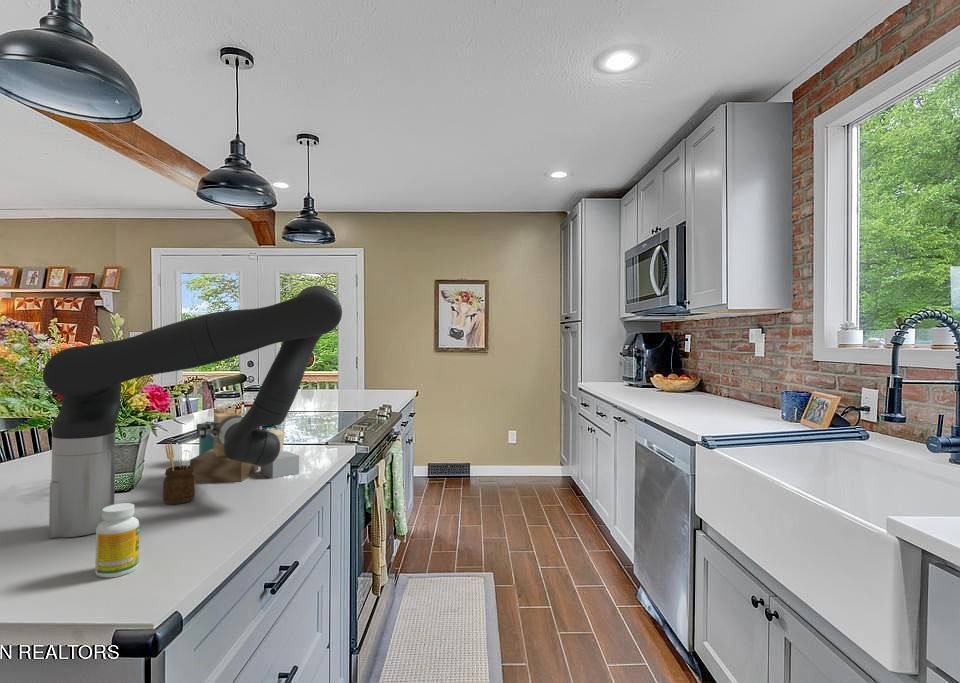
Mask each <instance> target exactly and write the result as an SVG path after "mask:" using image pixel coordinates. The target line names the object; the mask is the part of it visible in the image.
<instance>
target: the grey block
mask: <svg viewBox="0 0 960 683" xmlns="http://www.w3.org/2000/svg"><path fill="white" fill-rule="evenodd" d="M299 474H300V455H299V454H296V453H293V452H290V451H285V450H284V451H283V452H279V455H278V457H277V458H276V459H275V461H274V462H272V463H271V464H269V465H267V466H260V475H263V476H265V477H267V478H269V479H279V477H280V478H285V477H290V476H289V475H291V476H296V475H299ZM284 476H285V477H284Z"/></svg>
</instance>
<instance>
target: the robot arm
mask: <svg viewBox="0 0 960 683" xmlns="http://www.w3.org/2000/svg"><path fill="white" fill-rule="evenodd" d="M342 316H343V309H342V305H341V303H340V301H339V299H338V297H337V296H336V294H335V293H334V292H333V291H332V290H331V289H329V288H328V287H325V286H321V285H311V286H308V287H305V288H303V289H302V290H301V291H300V292H299V293H298V294H297V295H296V296H295V297H293V298H290V299H287V300H284V301H282V302H278V303H275V304H271V305H268V306H263V307H257V308H247V309H246V308H245V309H243V308H242V309H232V310H222V311H216V312H211V313H207V314H203V315H199V316H195V317H194V316H193V317H191V318H187V319H184V320H180V321H176V322H173V323H169V324H166V325H163V326H160V327H158V328H157V327H156V328H154V329H150V330H149V331H145V332H143V333H140V334H137V335H133V336H130V337H127V338H124V339H123V338H122V339H118V340H117V339H116V340H113V341H112V340H111V341H108V342H102V343H96V344H87V345H80V346H79V345H78V346H70V347H68V348H64V349H61V350H60V351H59V352H56V353H55V354H54V355H53V356H51V357H50V358H49V359H48V360H47V362H46V363H45V365H44V368H43V371H42V380H43V382H44V385H45V386H46V387H47V389H49V390H50V391H51V392H53V393H54V394H56V395H58V396H61V397H62V398H61V401H62V402H61V407H60V409H59V410H60V411H59V412H58V414H57V416H56V417H55V418H54V419H53V422H52V424H51V475H50V476H51V480H50V484H49V509H48V510H49V516H48V518H49V520H48V521H49V522H48V523H49V526H48V532H49V533H48V538H49V539H53V538H75V537H81V536H87V535H92V534H96V528H97V526H98V525H99V524H100V523H101V522H102V521H104V520H103V519H102V509H103V508H105V507H107V506H110V505H114V504H115V489H116V487H115V480H116V479H115V476H116V474H115V470H116V466H115V465H116V462H115V460H116V459H115V458H116V424H117V420H118V417H119V414H120V407H121V406H120V405H121V393H122V392H121V389H122V388H121V387H122V383H125V382H128V381H131V380H134V379H139V378H142V377H146V376H152V375H158V374H164V373H173V372H178V371H184V370H189V369H193V368H197V367H203V366H206V365H210V364H211V365H212V364H213V363H217V362H221V361H224V360H228V359H231V358H234V357H237V356H241V355H244V354H247V353H250V352H251V353H252V352H253V351H257V350H259V349H262V348H265V347H268V346H272V345H275V344H278V343H282V344H281V346H280V348H279V350H278V353H277V354H276V356H275V358H274V360H273V362H272V364H271V366H270V368H269V370H268V372H267V374H266V376H265V377H264V380H263V382H262V383H261V386H260V388H259V389H258V392H257V394H256V396H255V399H254V400H253V402H252V405H251V406H250V408H249V409H248V410H247V412H246V413H245V414H244V416H241V415H240V416H230V417H227V418H225V419H224V420H223V421H222V422H214V421H205V422H203V423H204V424H203V425H202V424H201V423H198V424H196V436H198V438H199V437H200V438H206V437H207V434H211V436H214V437H217V438H218V440H219V441H220V443H221V444H222V445H223V446H224V453H225V455H226V457H227V458H229V459H231V460H235V461H239V462H244V463H249V464H253V465H257V466H258V467H261V466H267V465H269V464H271V463H272V462H274V461H275V459H276V458H277V457H278V455H279V452H280V441H279V439H278V437H277V436H276V435H275V434H274V433H271V432H268V431H266V430H264V429H263V426H279V425H281V424H282V423H283V422H284V421H285V420H286V418H287V415H288V413H289V412H290V410H291V408H292V405H293V404H294V403H293V402H294V401H295V399H296V397H297V394H298V392H299V389H300V387H301V384H302V380H303V378H304V375H305V372H306V369H307V366H308V363H309V360H310V358H311V356H312V354H313V352H314V351H315V350H314V349H315V347H316V345H317V343H318V342H319V340H320V338H321V337H322V336H323V335H326V334H329V333H330V332H332V331H334V329H336V328H337V327H338V326H339V324H340V322H341V320H342ZM210 422H212V423H210ZM217 425H218V426H217ZM210 426H211V429H210Z"/></svg>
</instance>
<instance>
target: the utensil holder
mask: <svg viewBox="0 0 960 683" xmlns="http://www.w3.org/2000/svg"><path fill="white" fill-rule="evenodd" d="M174 452H175V451H174V448H173V444H172V443H171V442H170V444H169V443H167V444H165V453H166V457H167V459H168V460H169V461H170V467H168V468H166V469H165V471H164V472H165V473H164V475H165V477H164V478H163V482H162V499H163V502H164V504H166V505H180V504H186V503H188V502H189V503H190V502H192V501H193V500H194V498H195V494H196V493H195V492H196V489H195V488H196V483H195V478H194V475H193V474H192V473H193V467H192V466H190V463H191V462H190V460H191V459H193V455H192V453H191V451H190V450H187V449H186V450H182V451H181V453H180V454H179V457H178V458H179V461H178V464H180V462H182V458H181V457H183V454H184V452H185V453H188V455H189V459H188V461H189V462H188V463H187V465H185V464H186V460H184V462H183V463H184V464H183V465H174V462H173V459H174V458H175V453H174ZM186 457H187V454H185V457H184V459H186Z"/></svg>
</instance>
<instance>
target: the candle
mask: <svg viewBox="0 0 960 683" xmlns="http://www.w3.org/2000/svg"><path fill="white" fill-rule="evenodd" d="M265 431H268V432H271V433H274V434H275V435H276V436H277V437H278V439H279V441H280V452H284V432H283V431H282V430H280V428H279V427H271V428H266V430H265Z"/></svg>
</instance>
